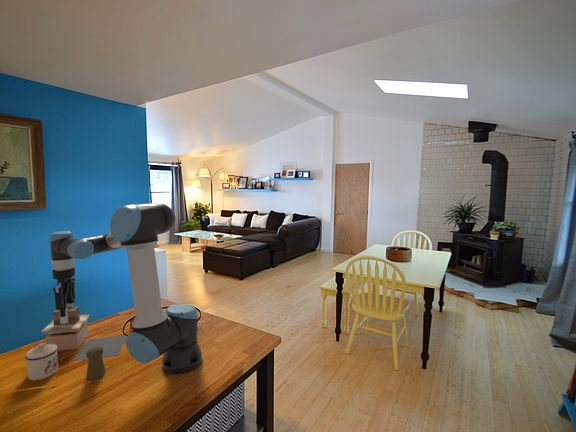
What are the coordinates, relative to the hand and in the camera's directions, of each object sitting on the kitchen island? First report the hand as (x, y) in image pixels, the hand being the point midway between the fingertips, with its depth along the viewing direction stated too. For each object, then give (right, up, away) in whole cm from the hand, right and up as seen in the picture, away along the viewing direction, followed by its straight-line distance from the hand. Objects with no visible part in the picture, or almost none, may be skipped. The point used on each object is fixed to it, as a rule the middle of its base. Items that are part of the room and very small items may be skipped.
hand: (67, 320), depth 125 cm
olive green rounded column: (+24, -14, -18) cm, 33 cm away
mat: (+16, -12, -1) cm, 20 cm away
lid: (0, -2, 0) cm, 2 cm away
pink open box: (0, -11, +1) cm, 11 cm away
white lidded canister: (+4, -13, -16) cm, 21 cm away
